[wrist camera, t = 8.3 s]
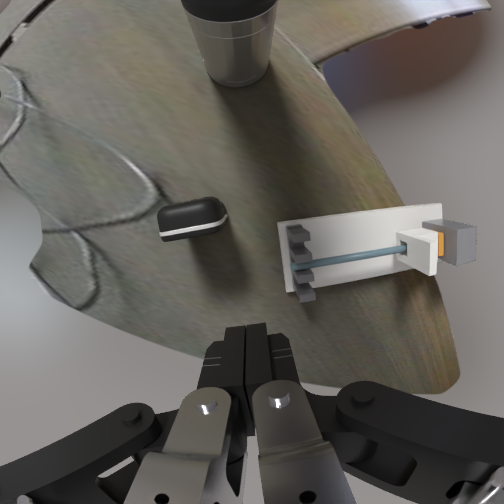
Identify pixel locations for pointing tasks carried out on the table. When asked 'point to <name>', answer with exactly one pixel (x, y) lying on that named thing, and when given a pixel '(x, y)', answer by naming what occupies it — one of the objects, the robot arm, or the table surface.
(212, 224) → the battery charger
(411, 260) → the sleeve
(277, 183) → the table surface
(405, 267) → the cable jig
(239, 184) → the table surface
